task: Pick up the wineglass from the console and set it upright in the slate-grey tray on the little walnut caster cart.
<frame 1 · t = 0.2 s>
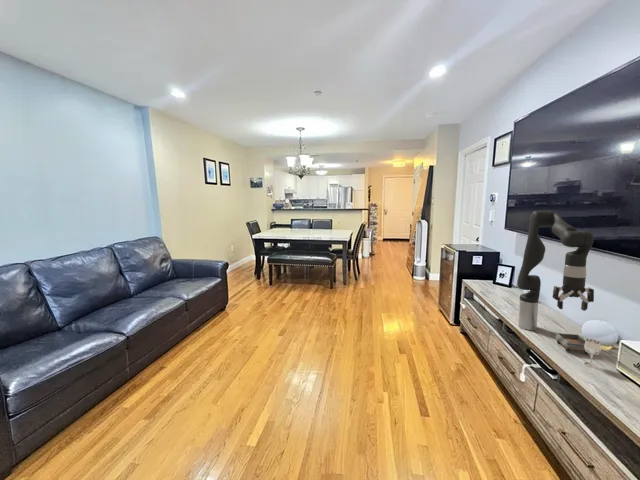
hand: (571, 309, 127), 28 cm above the table, fingers open, 8 cm apart
cart: (572, 348, 147), on the table
wineglass: (590, 365, 132), on the table
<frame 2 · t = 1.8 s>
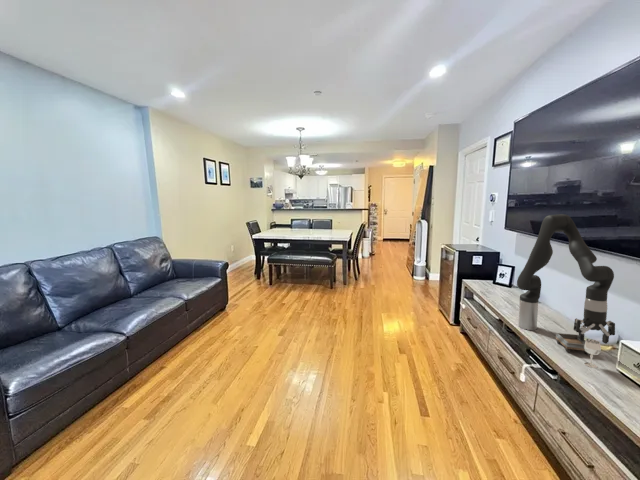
hand: (592, 341, 130), 12 cm above the table, fingers open, 8 cm apart
nothing on the table moved.
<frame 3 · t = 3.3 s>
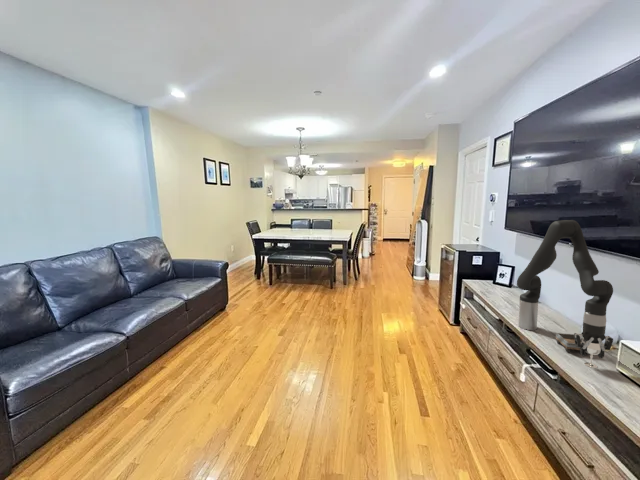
hand: (591, 356, 131), 5 cm above the table, fingers closed on wineglass, 5 cm apart
wineglass: (590, 365, 132), on the table, touching gripper
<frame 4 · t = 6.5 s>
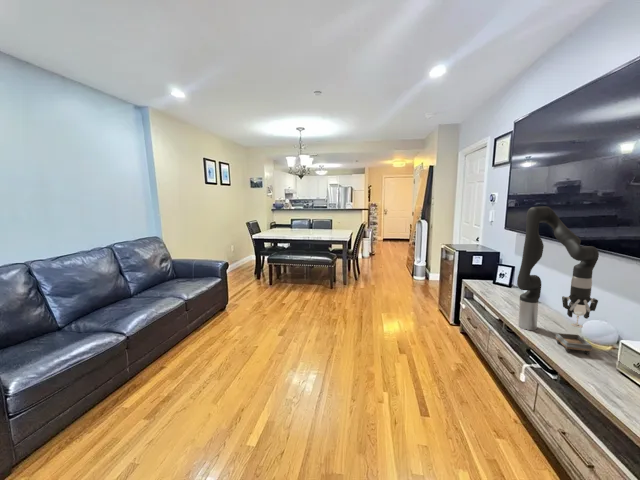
hand: (577, 317, 141), 19 cm above the table, fingers closed on wineglass, 5 cm apart
wineglass: (576, 326, 142), point 14 cm above the table, touching gripper
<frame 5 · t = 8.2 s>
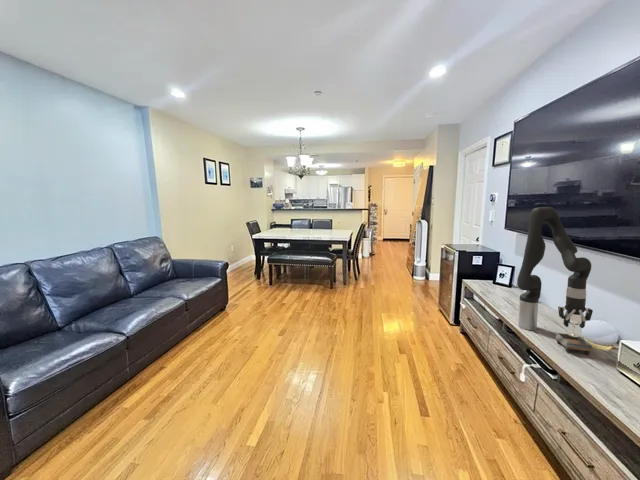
hand: (573, 326, 145), 12 cm above the table, fingers closed on wineglass, 5 cm apart
wineglass: (573, 335, 146), point 7 cm above the table, touching gripper
when the fingers open (9 cm above the table, at t = 9.6 s): wineglass drops 1 cm, resting on cart.
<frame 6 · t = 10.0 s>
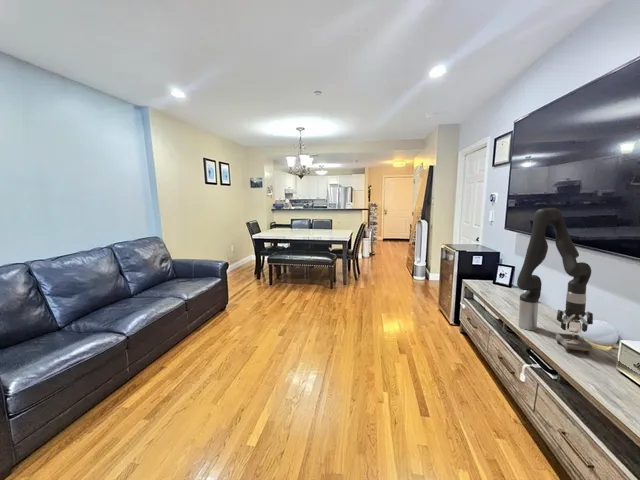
hand: (573, 330, 145), 10 cm above the table, fingers open, 8 cm apart
wineglass: (572, 342, 146), point 3 cm above the table, touching cart
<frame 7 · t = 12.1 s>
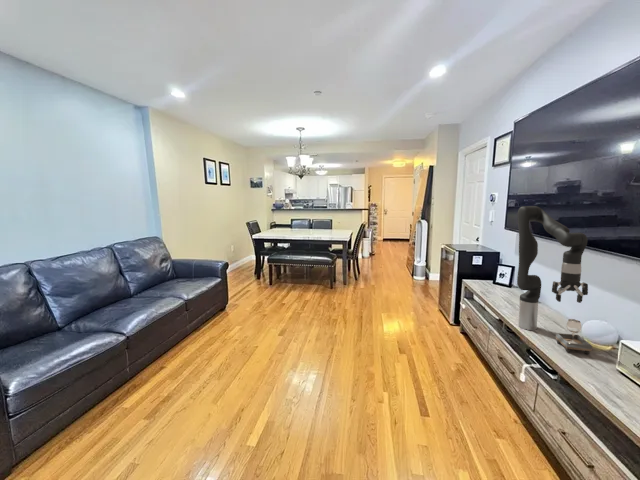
hand: (568, 301, 144), 26 cm above the table, fingers open, 8 cm apart
nothing on the table moved.
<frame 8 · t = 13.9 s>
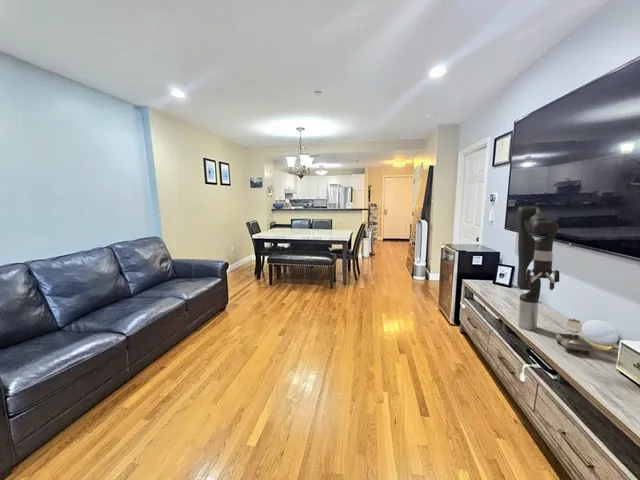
hand: (541, 289, 146), 32 cm above the table, fingers open, 8 cm apart
nothing on the table moved.
at the end: wineglass 0.0 cm off-centre on the cart, point 3.2 cm above the cart's base; wineglass tilted 0°; the gripper is holding nothing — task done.
